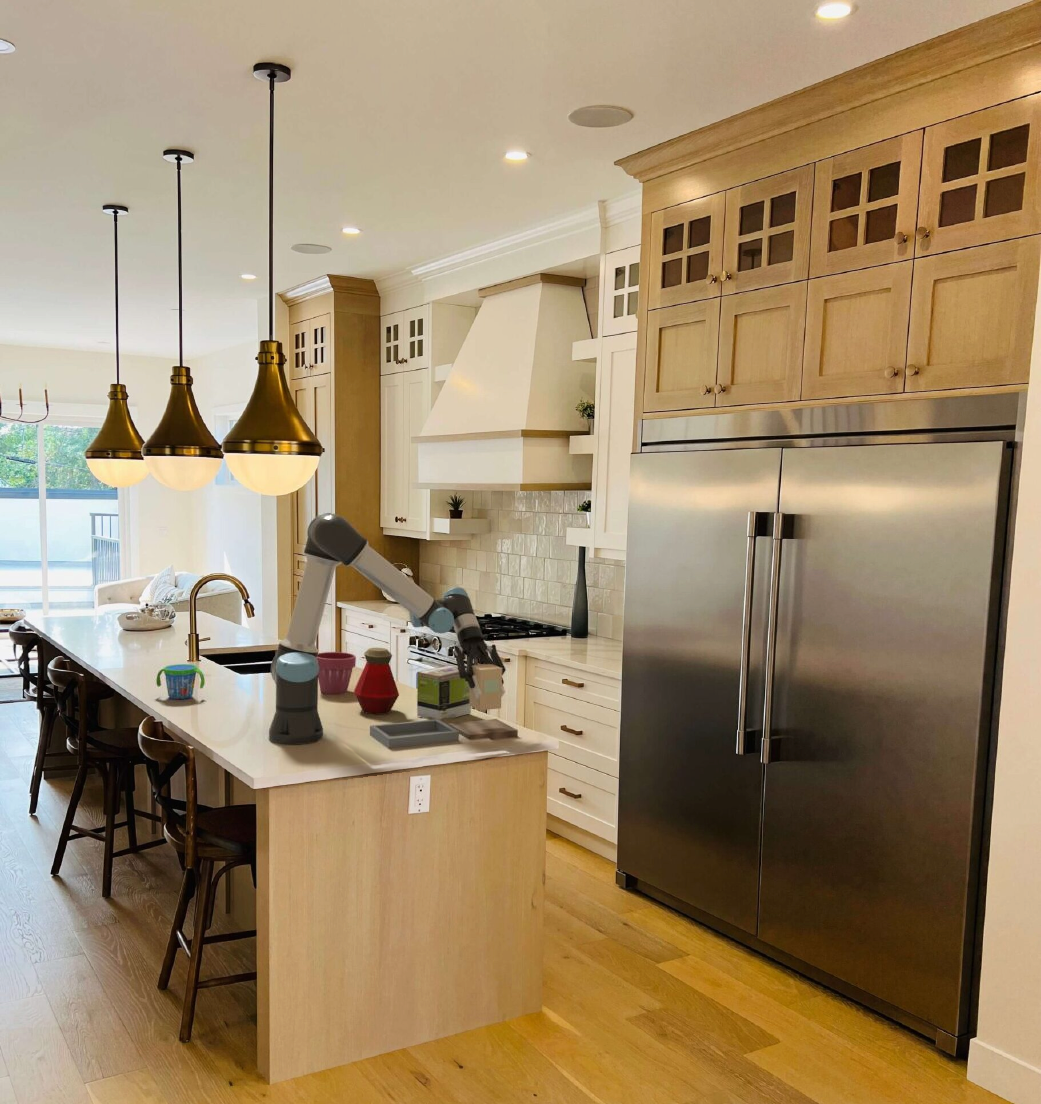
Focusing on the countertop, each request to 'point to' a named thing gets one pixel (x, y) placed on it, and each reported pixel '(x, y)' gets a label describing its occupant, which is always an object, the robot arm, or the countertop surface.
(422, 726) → the bin
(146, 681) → the countertop surface
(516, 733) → the walnut board
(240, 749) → the countertop surface
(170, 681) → the snack cup
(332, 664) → the plant pot
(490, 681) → the box
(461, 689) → the tea box
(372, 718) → the countertop surface
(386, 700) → the bottle
